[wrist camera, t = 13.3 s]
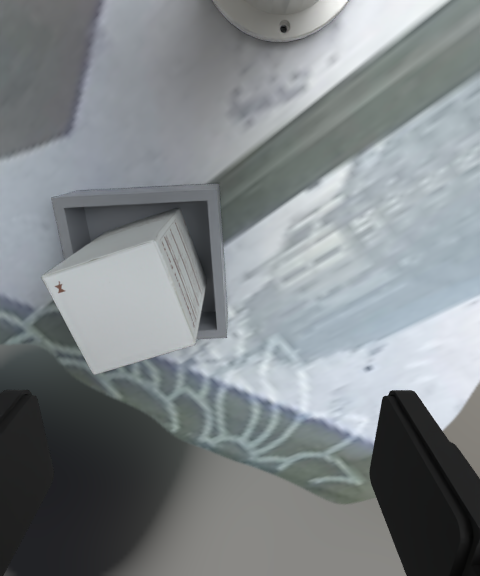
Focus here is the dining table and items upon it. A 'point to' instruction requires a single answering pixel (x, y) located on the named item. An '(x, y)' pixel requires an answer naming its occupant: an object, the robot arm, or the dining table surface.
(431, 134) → the dining table surface
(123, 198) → the bin
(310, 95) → the dining table surface
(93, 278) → the supplement box
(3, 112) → the dining table surface
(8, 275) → the dining table surface
